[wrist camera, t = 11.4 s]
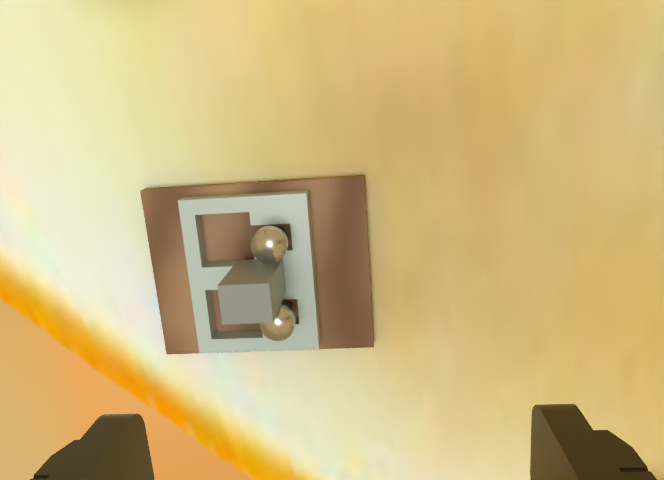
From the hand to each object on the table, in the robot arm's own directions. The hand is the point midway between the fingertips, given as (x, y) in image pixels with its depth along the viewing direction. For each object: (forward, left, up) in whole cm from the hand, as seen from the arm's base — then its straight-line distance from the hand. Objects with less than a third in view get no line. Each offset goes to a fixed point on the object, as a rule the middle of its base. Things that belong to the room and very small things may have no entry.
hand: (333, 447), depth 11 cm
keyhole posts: (+6, +4, -26) cm, 27 cm away
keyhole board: (+7, +4, -26) cm, 27 cm away
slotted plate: (+7, +4, -25) cm, 26 cm away
